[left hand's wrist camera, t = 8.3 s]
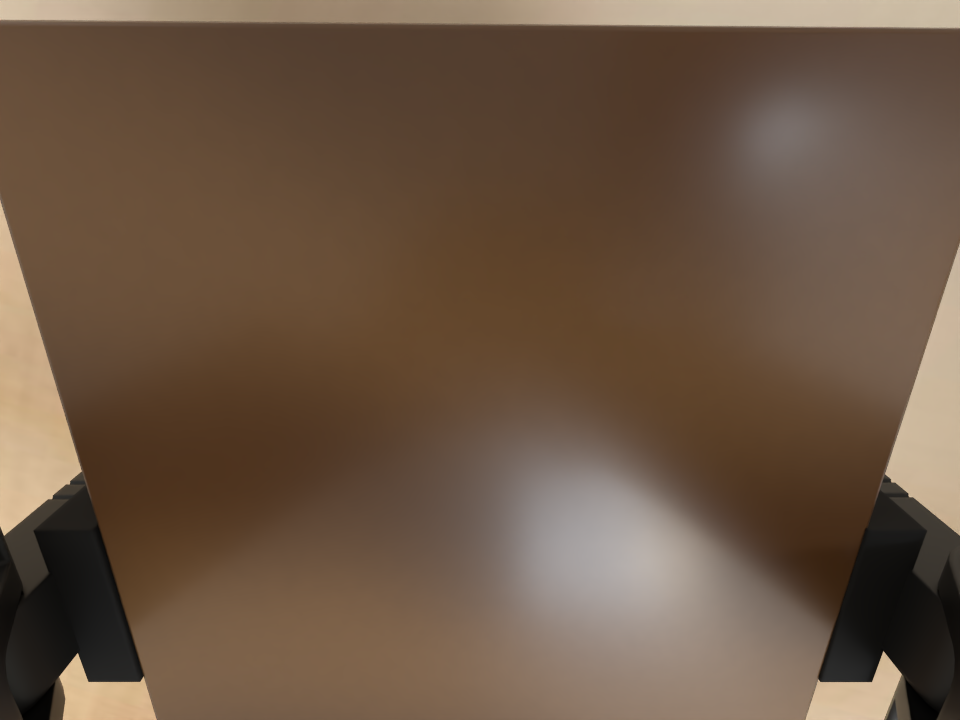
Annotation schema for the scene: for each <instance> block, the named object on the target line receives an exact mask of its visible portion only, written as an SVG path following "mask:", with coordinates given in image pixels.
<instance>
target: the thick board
mask: <svg viewBox="0 0 960 720" xmlns="http://www.w3.org/2000/svg"><path fill="white" fill-rule="evenodd" d="M0 200H1V204H2V207H3V210H4V214H5V217H6V220H7V224H8V227H9V230H10V234H11V237H12V240H13V244H14V247H15V250H16V254H17V257H18V260H19V263H20V267H21V270H22V273H23V277H24V280H25V283H26V287H27V290H28V293H29V297H30V300H31V303H32V307H33V310H34V313H35V317H36V320H37V323H38V327H39V330H40V333H41V337H42V340H43V343H44V346H45V350H46V353H47V356H48V360H49V363H50V366H51V370H52V373H53V376H54V380H55V383H56V386H57V390H58V393H59V396H60V400H61V403H62V406H63V410H64V413H65V416H66V420H67V423H68V426H69V430H70V433H71V436H72V439H73V443H74V446H75V449H76V453H77V456H78V459H79V463H80V466H81V469H82V473H83V476H84V479H85V483H86V486H87V489H88V493H89V496H90V499H91V503H92V506H93V509H94V513H95V516H96V519H97V523H98V526H99V529H100V532H101V536H102V539H103V542H104V546H105V549H106V552H107V556H108V559H109V562H110V566H111V569H112V572H113V576H114V579H115V582H116V586H117V589H118V592H119V596H120V599H121V602H122V606H123V609H124V612H125V615H126V619H127V622H128V625H129V629H130V632H131V635H132V639H133V642H134V645H135V649H136V652H137V655H138V659H139V662H140V665H141V669H142V672H143V675H144V679H145V682H146V685H147V689H148V692H149V695H150V699H151V702H152V705H153V708H154V712H155V715H156V718H157V720H805V719H806V716H807V713H808V710H809V707H810V703H811V700H812V697H813V694H814V691H815V688H816V685H817V682H818V678H819V674H820V671H821V668H822V665H823V662H824V659H825V655H826V652H827V649H828V646H829V643H830V640H831V637H832V633H833V630H834V627H835V624H836V621H837V618H838V615H839V611H840V608H841V605H842V602H843V599H844V596H845V592H846V589H847V586H848V583H849V580H850V577H851V574H852V570H853V567H854V564H855V561H856V558H857V555H858V551H859V548H860V545H861V542H862V539H863V536H864V533H865V529H866V528H867V527H868V524H869V521H870V518H871V515H872V512H873V509H874V506H875V503H876V500H877V497H878V494H879V490H880V487H881V484H882V481H883V478H884V475H885V472H886V469H887V466H888V463H889V460H890V457H891V453H892V450H893V447H894V444H895V441H896V438H897V435H898V432H899V429H900V426H901V423H902V420H903V416H904V413H905V410H906V407H907V404H908V401H909V398H910V395H911V392H912V389H913V386H914V382H915V379H916V376H917V373H918V370H919V367H920V364H921V361H922V358H923V355H924V352H925V349H926V345H927V342H928V339H929V336H930V333H931V330H932V327H933V324H934V321H935V318H936V315H937V311H938V308H939V305H940V302H941V299H942V296H943V293H944V290H945V287H946V284H947V281H948V278H949V274H950V271H951V268H952V265H953V262H954V259H955V256H956V253H957V250H958V247H959V244H960V28H899V27H780V26H662V25H543V24H424V23H306V22H187V21H69V20H0Z"/></svg>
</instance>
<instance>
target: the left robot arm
mask: <svg viewBox="0 0 960 720" xmlns="http://www.w3.org/2000/svg"><path fill="white" fill-rule="evenodd" d="M883 651H884V652H885V653H886V655H887V656H888V657H889V658H890V660H891V661H892V662H893V663H894V665H895V666H896V667H897V668H898V670H899V671H900V672H901V674H902V676H901V678H900V681H899V683H898V686H897V688H896V691H895V694H894V696H893V699H892V701H891V704H890V706H889V709H888V711H887V714H886V716H885V719H884V720H960V536H959V535H958V534H957V533H956V532H954V531H953V530H952V529H951V528H950V527H948V526H947V525H946V524H945V523H943V522H942V521H941V520H940V519H939V518H937V517H936V516H935V515H934V514H932V513H931V512H930V511H929V510H928V509H926V508H925V507H924V506H923V505H922V504H920V503H919V502H918V501H917V500H915V499H914V498H913V497H909V496H908V493H907V492H906V491H904V490H903V489H902V488H901V487H900V486H898V485H897V484H896V483H891V479H890V478H889V477H887V476H886V475H884V478H883V481H882V484H881V487H880V490H879V494H878V497H877V500H876V503H875V506H874V509H873V512H872V515H871V518H870V521H869V524H868V527H867V528H866V529H865V533H864V536H863V539H862V542H861V545H860V548H859V551H858V555H857V558H856V561H855V564H854V567H853V570H852V574H851V577H850V580H849V583H848V586H847V589H846V592H845V596H844V599H843V602H842V605H841V608H840V611H839V615H838V618H837V621H836V624H835V627H834V630H833V633H832V637H831V640H830V643H829V646H828V649H827V652H826V655H825V659H824V662H823V665H822V668H821V671H820V674H819V678H818V679H819V681H820V682H872V680H873V678H874V675H875V672H876V669H877V667H878V664H879V661H880V659H881V656H882V653H883ZM77 653H78V654H79V657H80V660H81V662H82V665H83V668H84V671H85V673H86V676H87V679H88V682H140V681H141V680H142V678H143V676H144V675H143V672H142V669H141V665H140V662H139V659H138V655H137V652H136V649H135V645H134V642H133V639H132V635H131V632H130V629H129V625H128V622H127V619H126V615H125V612H124V609H123V606H122V602H121V599H120V596H119V592H118V589H117V586H116V582H115V579H114V576H113V572H112V569H111V566H110V562H109V559H108V556H107V552H106V549H105V546H104V542H103V539H102V536H101V532H100V529H99V526H98V523H97V519H96V516H95V513H94V509H93V506H92V503H91V499H90V496H89V493H88V489H87V486H86V483H85V479H84V476H83V473H82V472H81V473H80V474H78V475H77V476H76V477H75V478H74V479H72V480H71V481H70V485H65V486H64V487H63V488H61V489H60V490H59V491H58V492H57V493H55V494H54V495H53V499H48V500H47V501H46V502H45V503H43V504H42V505H41V506H40V507H39V508H37V509H36V510H35V511H34V512H33V513H31V514H30V515H29V516H28V517H26V518H25V519H24V520H23V521H22V522H20V523H19V524H18V525H17V526H16V527H14V528H13V529H12V530H11V531H10V532H8V533H7V534H6V535H5V536H4V535H3V533H2V530H1V528H0V720H63V712H64V705H65V695H64V690H63V686H62V683H61V681H60V678H59V676H60V675H61V673H62V672H63V671H64V670H65V668H66V667H67V666H68V665H69V663H70V662H71V661H72V659H73V658H74V657H75V656H76V654H77Z"/></svg>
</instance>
